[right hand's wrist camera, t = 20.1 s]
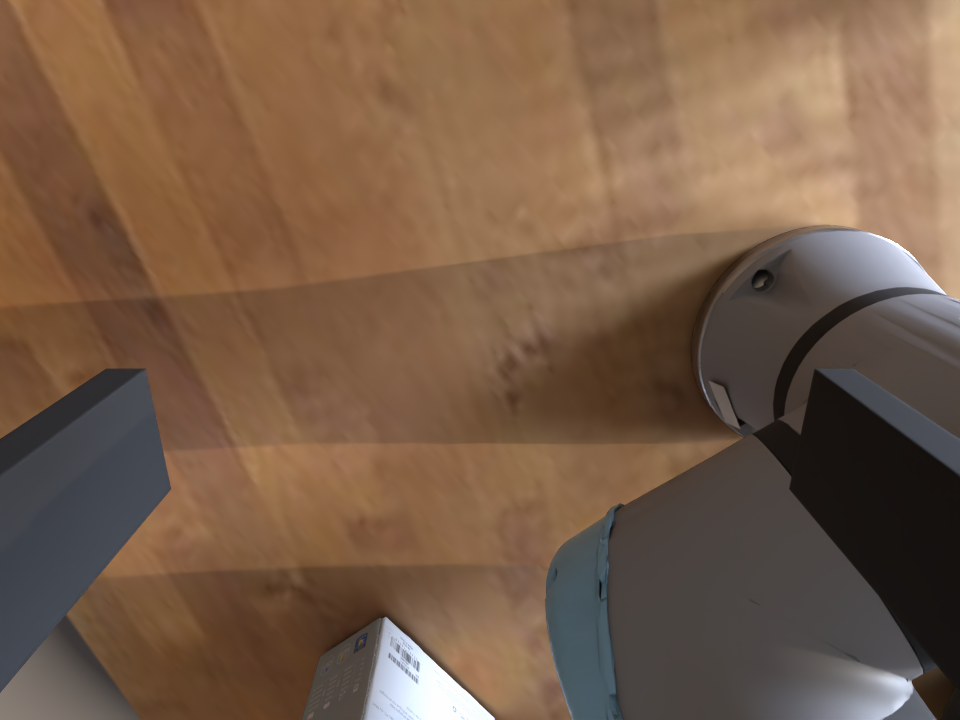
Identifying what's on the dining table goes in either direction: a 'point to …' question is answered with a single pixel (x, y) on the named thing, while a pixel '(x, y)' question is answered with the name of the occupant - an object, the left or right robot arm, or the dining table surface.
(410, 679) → the hard drive box
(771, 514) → the right robot arm
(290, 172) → the dining table surface
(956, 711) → the sphere
